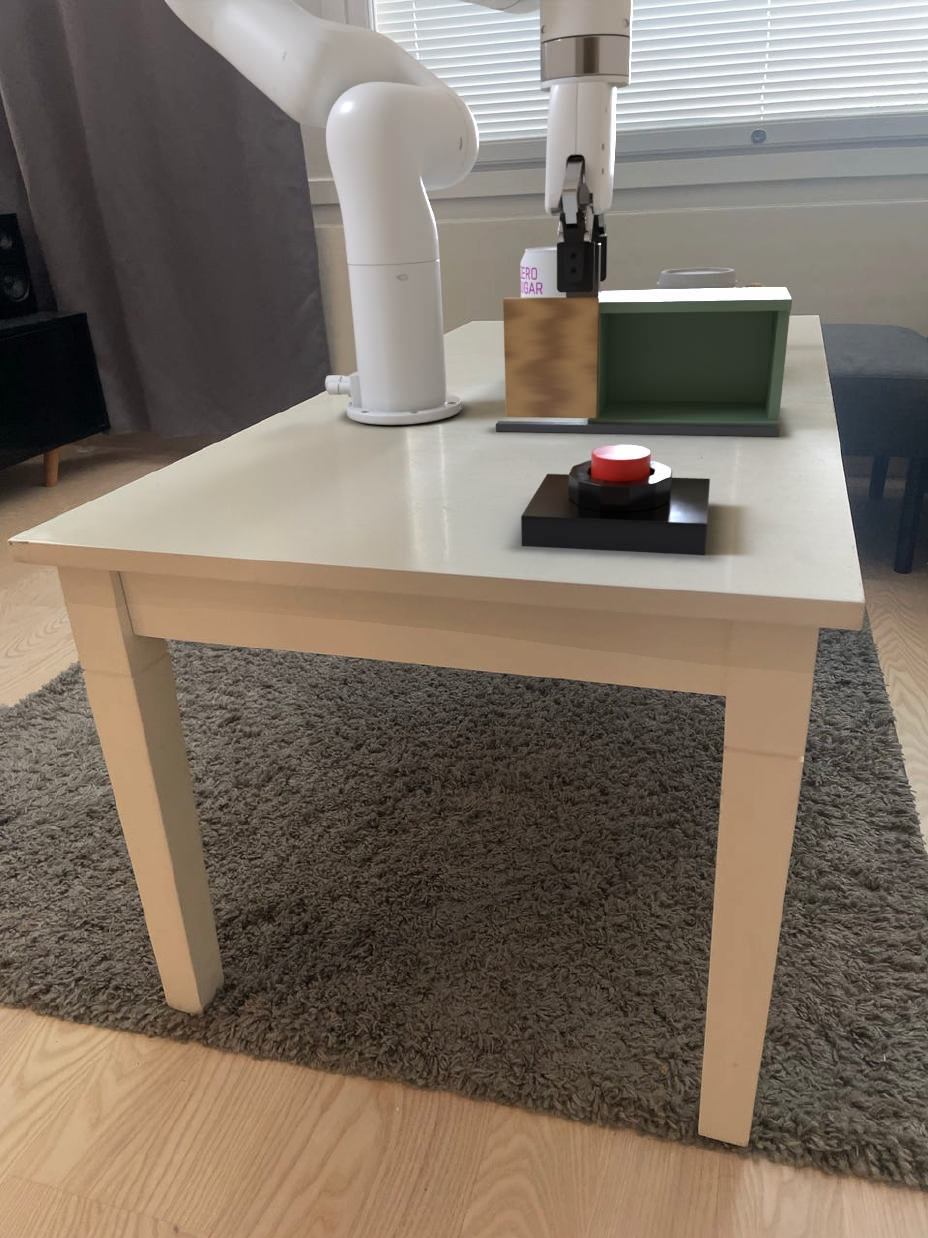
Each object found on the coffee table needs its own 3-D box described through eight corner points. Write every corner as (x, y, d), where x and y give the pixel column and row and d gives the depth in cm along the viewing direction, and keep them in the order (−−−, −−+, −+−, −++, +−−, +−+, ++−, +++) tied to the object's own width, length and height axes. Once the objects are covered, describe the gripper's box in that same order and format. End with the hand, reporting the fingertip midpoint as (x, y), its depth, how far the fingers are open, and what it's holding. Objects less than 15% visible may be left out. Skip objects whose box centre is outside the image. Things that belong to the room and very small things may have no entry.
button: (587, 484, 62) (587, 458, 61) (594, 467, 65) (595, 443, 64) (647, 486, 61) (648, 460, 60) (651, 469, 64) (653, 444, 63)
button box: (521, 546, 61) (520, 489, 60) (547, 501, 70) (546, 450, 68) (704, 556, 58) (709, 496, 57) (707, 507, 67) (711, 453, 65)
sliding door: (505, 417, 90) (501, 247, 84) (507, 414, 91) (503, 246, 85) (596, 418, 88) (599, 243, 81) (597, 416, 89) (600, 243, 82)
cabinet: (495, 431, 91) (491, 305, 86) (518, 406, 101) (516, 292, 96) (779, 436, 85) (793, 300, 79) (773, 409, 94) (785, 287, 89)
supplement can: (594, 366, 121) (597, 245, 115) (567, 377, 115) (567, 250, 109) (540, 363, 125) (540, 245, 119) (511, 374, 119) (508, 250, 113)
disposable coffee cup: (716, 381, 109) (724, 274, 104) (641, 376, 114) (645, 274, 109) (740, 367, 116) (748, 267, 111) (668, 363, 121) (673, 267, 116)
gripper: (557, 81, 85) (557, 278, 92) (520, 60, 70) (524, 297, 77) (639, 74, 83) (632, 276, 91) (619, 51, 68) (613, 296, 75)
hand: (582, 285), depth 84 cm, fingers open, 8 cm apart
